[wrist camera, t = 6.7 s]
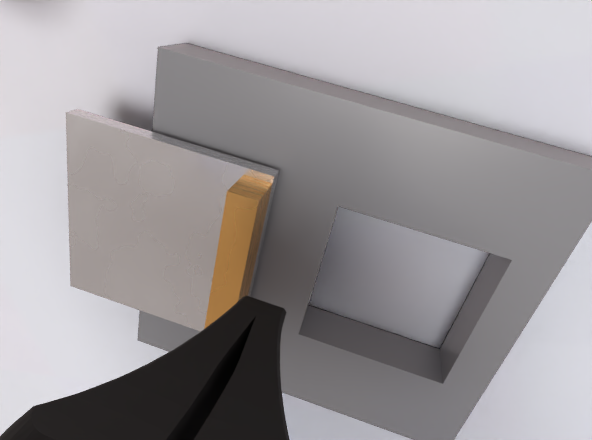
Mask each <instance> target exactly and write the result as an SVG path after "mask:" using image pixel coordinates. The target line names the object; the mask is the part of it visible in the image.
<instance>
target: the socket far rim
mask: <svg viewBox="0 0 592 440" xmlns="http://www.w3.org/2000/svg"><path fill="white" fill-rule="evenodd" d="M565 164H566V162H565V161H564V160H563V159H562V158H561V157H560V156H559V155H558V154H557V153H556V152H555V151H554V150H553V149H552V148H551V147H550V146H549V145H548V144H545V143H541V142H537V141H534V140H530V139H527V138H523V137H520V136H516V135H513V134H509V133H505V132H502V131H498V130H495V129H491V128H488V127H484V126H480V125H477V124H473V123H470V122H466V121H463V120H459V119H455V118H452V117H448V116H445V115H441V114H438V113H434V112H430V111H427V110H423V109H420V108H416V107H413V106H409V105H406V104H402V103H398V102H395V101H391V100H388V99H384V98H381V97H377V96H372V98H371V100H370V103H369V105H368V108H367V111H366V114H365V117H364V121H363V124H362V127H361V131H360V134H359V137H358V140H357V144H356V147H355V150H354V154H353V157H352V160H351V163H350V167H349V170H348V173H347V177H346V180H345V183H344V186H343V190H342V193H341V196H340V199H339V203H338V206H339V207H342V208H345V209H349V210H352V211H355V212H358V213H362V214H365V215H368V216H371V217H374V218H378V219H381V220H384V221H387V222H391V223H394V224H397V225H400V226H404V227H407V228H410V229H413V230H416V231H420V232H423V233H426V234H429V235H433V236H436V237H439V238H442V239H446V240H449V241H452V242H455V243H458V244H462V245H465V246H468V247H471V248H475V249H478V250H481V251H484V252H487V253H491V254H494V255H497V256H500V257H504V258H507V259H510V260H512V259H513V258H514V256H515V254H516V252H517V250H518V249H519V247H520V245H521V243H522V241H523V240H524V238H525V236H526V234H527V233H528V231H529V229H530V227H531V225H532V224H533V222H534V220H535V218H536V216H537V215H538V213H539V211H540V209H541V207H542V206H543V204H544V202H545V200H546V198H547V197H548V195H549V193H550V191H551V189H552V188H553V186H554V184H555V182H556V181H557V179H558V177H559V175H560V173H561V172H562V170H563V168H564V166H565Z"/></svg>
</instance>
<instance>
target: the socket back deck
mask: <svg viewBox="0 0 592 440" xmlns="http://www.w3.org/2000/svg"><path fill="white" fill-rule="evenodd" d="M372 96H373V95H370V94H366V93H363V92H359V91H356V90H352V89H348V88H345V87H341V86H338V85H334V84H331V83H327V82H323V81H320V80H316V79H313V78H309V77H306V76H302V75H298V74H295V73H291V72H288V71H284V70H281V69H277V68H274V67H270V66H266V65H263V64H259V63H256V62H252V61H249V60H245V59H241V58H238V57H234V56H231V55H227V54H224V53H220V52H216V51H213V50H209V49H206V48H202V47H199V46H195V45H191V44H188V43H182V44H175V45H168V46H160V47H158V55H157V69H156V84H155V98H154V113H153V127H152V132H155V133H158V134H161V135H165V136H168V137H171V138H174V139H178V140H181V141H184V142H188V143H191V144H194V145H197V146H201V147H204V148H207V149H210V150H214V151H217V152H220V153H224V154H227V155H230V156H233V157H237V158H240V159H243V160H246V161H250V162H253V163H256V164H260V165H263V166H266V167H269V168H273V169H276V170H279V173H278V177H277V182H276V186H275V191H274V195H273V200H272V204H271V209H270V213H269V218H268V222H267V227H266V231H265V236H264V240H263V245H262V249H261V254H260V258H259V263H258V267H257V271H256V276H255V280H254V285H253V289H252V294H251V297H253V298H256V299H259V300H261V301H264V302H267V303H270V304H273V305H276V306H279V307H282V308H284V309H285V311H286V316H285V320H284V323H283V327H282V332H281V342H280V376H281V390H282V386H283V383H284V380H285V377H286V373H287V370H288V367H289V363H290V360H291V357H292V354H293V350H294V347H295V344H296V341H297V337H298V334H299V331H300V328H301V325H302V322H303V319H304V316H305V313H306V311H307V308H308V305H309V301H310V298H311V295H312V292H313V288H314V285H315V282H316V278H317V275H318V272H319V269H320V265H321V262H322V259H323V256H324V252H325V249H326V246H327V243H328V239H329V236H330V233H331V230H332V226H333V223H334V220H335V216H336V213H337V210H338V207H339V206H338V203H339V199H340V196H341V193H342V190H343V186H344V183H345V180H346V177H347V173H348V170H349V167H350V163H351V160H352V157H353V154H354V150H355V147H356V144H357V140H358V137H359V134H360V131H361V127H362V124H363V121H364V117H365V114H366V111H367V108H368V105H369V103H370V100H371V98H372ZM199 332H200V331H198V330H195V329H192V328H189V327H186V326H183V325H181V324H178V323H175V322H172V321H169V320H166V319H163V318H161V317H158V316H155V315H152V314H149V313H146V312H144V311H141V310H140V314H139V328H138V341H141V342H144V343H147V344H149V345H152V346H155V347H158V348H161V349H163V350H166V351H169V352H170V351H172V350H174V349H175V348H177V347H178V346H180V345H181V344H183V343H184V342H186V341H187V340H189V339H191V338H192V337H194V336H195V335H197V334H198V333H199Z"/></svg>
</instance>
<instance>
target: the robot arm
mask: <svg viewBox="0 0 592 440" xmlns="http://www.w3.org/2000/svg"><path fill="white" fill-rule="evenodd" d="M285 316H286V311H285V309H284V308H282V307H279V306H276V305H273V304H270V303H267V302H264V301H261V300H259V299H256V298H253V297H250V296H247V295H246V296H244V297H242V298H241V299H240V300H239V301H238V302H237V303H236V304H235V305H234V306H232V307H231V308H230V309H229V310H228V311H227V312H225V313H224V314H223V315H222V316H221V317H219V318H218V319H217V320H215V321H214V322H213V323H211V324H210V325H209V326H208V327H206V328H205V329H204V330H202V331H201V332H199V333H198V334H197V335H195V336H194V337H192V338H191V339H189V340H187V341H186V342H184V343H183V344H181V345H180V346H178V347H177V348H175V349H174V350H172V351H170V352H169V353H167V354H165V355H163V356H162V357H160V358H158V359H156V360H154V361H152V362H150V363H149V364H147V365H145V366H142V367H140V368H138V369H136V370H134V371H132V372H130V373H128V374H126V375H124V376H121V377H119V378H117V379H114V380H112V381H109V382H107V383H104V384H101V385H99V386H96V387H94V388H91V389H88V390H86V391H83V392H80V393H77V394H74V395H71V396H68V397H64V398H61V399H58V400H54V401H51V402H47V403H44V404H40V405H36V406H33V407H32V408H31V409H30V410H29V411H27V412H26V413H25V414H24V415H23V416H22V417H20V418H19V419H18V420H17V421H16V422H14V423H13V424H12V425H11V426H10V427H9V428H8V429H7V430H6V431H5V432H4V433H3V434H2V435H1V436H0V440H289V436H288V431H287V426H286V420H285V414H284V407H283V400H282V390H281V376H280V342H281V332H282V327H283V323H284V320H285Z"/></svg>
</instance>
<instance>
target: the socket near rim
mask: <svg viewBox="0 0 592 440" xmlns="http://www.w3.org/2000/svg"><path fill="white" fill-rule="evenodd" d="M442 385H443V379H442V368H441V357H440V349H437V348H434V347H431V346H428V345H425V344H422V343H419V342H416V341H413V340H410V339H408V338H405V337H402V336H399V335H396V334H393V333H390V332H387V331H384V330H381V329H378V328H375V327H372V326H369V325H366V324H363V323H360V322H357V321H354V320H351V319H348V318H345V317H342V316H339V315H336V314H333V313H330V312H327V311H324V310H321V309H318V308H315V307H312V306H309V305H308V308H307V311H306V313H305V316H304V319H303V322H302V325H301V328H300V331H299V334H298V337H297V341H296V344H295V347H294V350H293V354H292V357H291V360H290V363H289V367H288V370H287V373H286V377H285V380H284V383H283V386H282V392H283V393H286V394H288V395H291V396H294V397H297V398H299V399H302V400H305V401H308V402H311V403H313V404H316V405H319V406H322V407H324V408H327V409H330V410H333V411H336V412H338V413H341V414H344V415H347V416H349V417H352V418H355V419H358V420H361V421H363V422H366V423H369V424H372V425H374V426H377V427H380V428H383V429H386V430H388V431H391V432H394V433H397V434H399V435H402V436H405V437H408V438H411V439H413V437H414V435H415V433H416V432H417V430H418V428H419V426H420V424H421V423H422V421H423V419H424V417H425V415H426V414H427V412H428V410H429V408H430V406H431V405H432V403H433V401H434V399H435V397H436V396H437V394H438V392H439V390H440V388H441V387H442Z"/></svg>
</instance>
